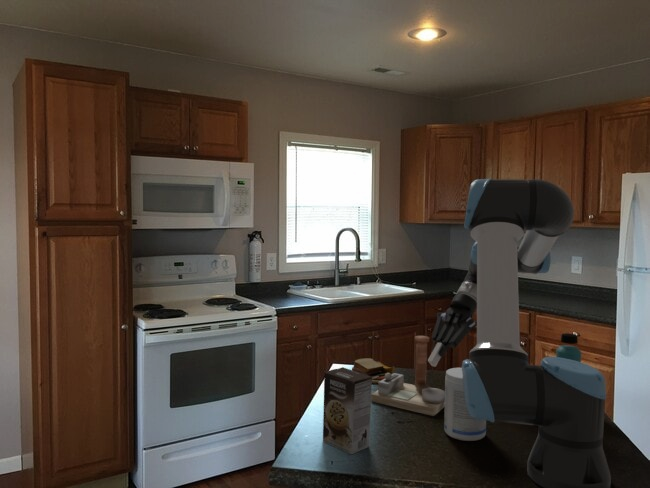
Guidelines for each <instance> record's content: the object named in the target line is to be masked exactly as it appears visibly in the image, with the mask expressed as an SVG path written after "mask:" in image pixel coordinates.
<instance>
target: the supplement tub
mask: <svg viewBox="0 0 650 488" xmlns="http://www.w3.org/2000/svg"><path fill="white" fill-rule="evenodd" d="M444 378H445V380H444V391H445V407H444V417H443V418H444V419H443V421H444V422H443V423H444V424H443V425H444V426H443V427H444V429H443V430H444V432H445V434H446V435H447V436H448V437H451V438H452V439H455V440H459V441H465V442H476V441H480V440H482V439H483V438H485V436H486V433H487V421H486V420H479V419H475V418H473V417H471V416H470V414H469V413H468V411H467V407H466V402H465V395H464V388H463V374H462V367H452V368H449V369H447V370H446V371H445V377H444Z"/></svg>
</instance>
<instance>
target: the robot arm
mask: <svg viewBox="0 0 650 488" xmlns="http://www.w3.org/2000/svg"><path fill="white" fill-rule="evenodd" d="M574 208H575V206H574V204H573V202H572V200H571V198H570V196H569V194H568V193H566V192H565V191H564V190H563V189H562V188H561V187H560V186H558V185H557V184H555V183H553V182H551V181H548V180H544V179H540V178H539V179H538V178H535V179H534V178H533V179H527V178H525V179H519V178H516V179H513V178H511V179H509V178H507V179H506V178H503V179H502V178H498V179H497V178H496V179H493V178H491V177H489V178H480V179H479V178H478V179H475V180H473V181H472V182H471V184H470V185H469V190H468V197H467V203H466V209H465V217H464V222H463V224H464V225H463V227H464V229H466V230H469V231H470V235H469V236H470V237H471V239H473V240H474V241H475V242H474V244H473V245H472V247H471V251H470V253H469V255H470V256H469V265H468V271H467V274H466V275H465V277H464V279H463V281H462V283H461V284H460V286H459V288H458V290H457V291H456V294H455V295H454V297H453V298H452V300H451V302H450V306H449V308H448V309H446V310H445V312H437V313H436V318H437V319H436V321H435V322H436V323H435V325H434V328H433V331H432V335H431V339H432V340H433V343H434V344H433V346H432V348H431V354H430V355H429V357H428V358H427V362H428V363H429V365H430V366H431V367H434V368H435V367H437V365H438V363H439V361H440V360H441V358H444V356H445V355H446V353H447V351H448V349H450V348H453V349H455V348H457V346H458V345H459V344H460V343H461V342H462V341H463V339H464V338H465V337H466V336H467V335H468V334H469V332H470V331H471V330H473V329H475V327H476V345H475V346H474V347H473V348H472V349H470V351H469V352H468V353H469V355H468V356H469V357H468V358H466V359H464V360H462V363H461V368H462V374H463V388H464V395H465V402H466V407H467V411H468V413H469V414H470V416H471V417H473V418H475V419H479V420H486V422H490V423H496V422H497V423H507V424H518V425H527V426H528V425H529V426H538V430H537V432H538V433H537V436H536V439H535V441H534V444H533V446H532V449H531V451H530V453H529V456H528V459H527V461H526V463H527V464H526V465H527V466H526V469H527V470H526V471H527V472H526V473H527V475H528V477H529V478H530V479H531V480H532V481H533V482H534V483H536V484H537V485H539V486H540V487H541V488H611V480H612V476H611V472H610V468H609V465H608V462H607V458H606V454H605V452H604V448H603V445H604V443H603V442H604V441H603V440H604V429H605V428H604V426H605V424H604V422H605V409H606V408H605V407H606V399H607V388H606V385H607V384H606V377H605V375H604V374H603V373H602V372H601V371H600V370H598V369H597V368H595V367H594V366H592V365H589V364H586V363H584V362H582V361H581V362H578V361H574V360H570V359H566V358H560V357H556V356H546V357H543V358H542V359H541V361H540V365H538V364H529V355H528V353H527V352H526V351H525V350H524V349H523V348H522V347H521V342H520V341H521V340H520V308H519V307H520V303H519V302H520V300H519V298H520V297H519V273H520V274H532V275H536V274H546V273H548V272H549V270H550V267H551V252H550V251H551V249H552V247H553V246H554V244H555V242H556V241H557V240H558V238H559V237H560V236H563V235H564V234H565V233H567V231H568V230H569V229H570V228H571V225H572V223H573V221H574V218H575V209H574ZM521 239H522V240H521ZM520 240H521V241H520ZM519 241H520V244H519V246H518V242H519ZM475 313H476V322H475V320H474V319H473V316H474V315H475Z"/></svg>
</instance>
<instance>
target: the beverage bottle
mask: <svg viewBox="0 0 650 488" xmlns="http://www.w3.org/2000/svg"><path fill="white" fill-rule="evenodd" d="M560 342H561V343H564V344H562V345H560V346H558V347H557V348H556V349H555V350H556V353H555V354H556V355H555V357H560V358H566V359H570V360H574V361H578V362H581V363H582V350H580V349H579V347H578V346H574V345H577V344H578V335H577V334H574V333H562V334H561V337H560Z"/></svg>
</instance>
